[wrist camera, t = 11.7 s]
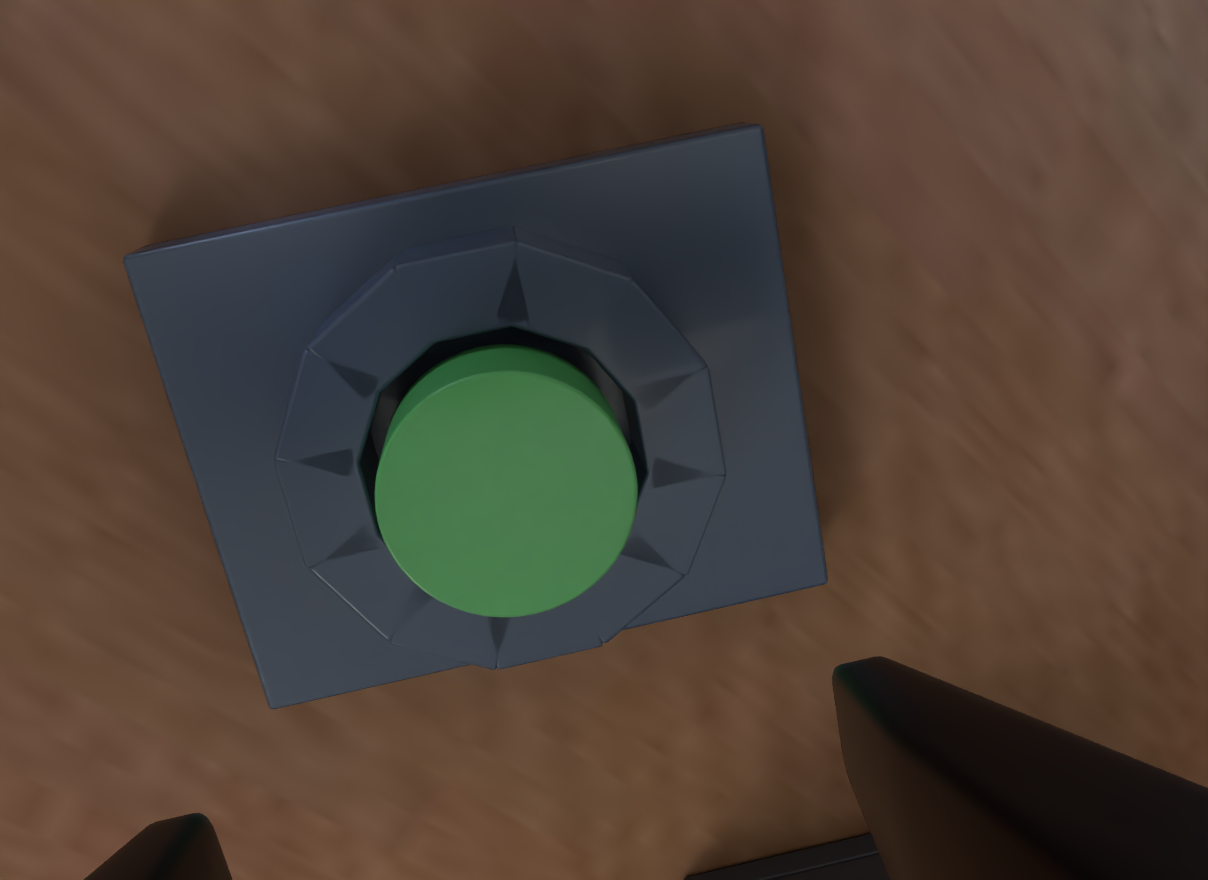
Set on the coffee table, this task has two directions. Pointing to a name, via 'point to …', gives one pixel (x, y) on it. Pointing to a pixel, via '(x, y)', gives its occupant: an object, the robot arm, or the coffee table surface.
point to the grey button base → (472, 319)
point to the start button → (505, 482)
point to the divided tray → (812, 864)
